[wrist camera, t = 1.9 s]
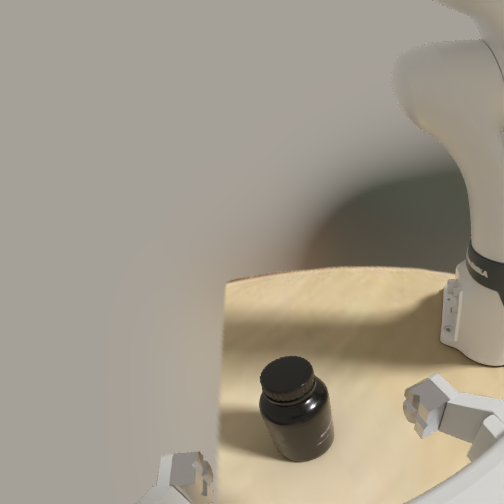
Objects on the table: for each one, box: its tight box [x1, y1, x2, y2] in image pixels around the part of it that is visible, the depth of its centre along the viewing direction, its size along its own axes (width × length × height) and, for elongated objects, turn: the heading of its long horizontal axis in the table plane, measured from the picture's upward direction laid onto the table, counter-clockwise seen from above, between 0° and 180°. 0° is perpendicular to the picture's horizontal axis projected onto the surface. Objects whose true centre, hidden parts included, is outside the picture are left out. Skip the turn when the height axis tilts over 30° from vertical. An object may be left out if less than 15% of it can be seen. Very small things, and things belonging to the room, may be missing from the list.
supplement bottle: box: [259, 356, 334, 462], centre depth 25 cm, size 7×7×12 cm
